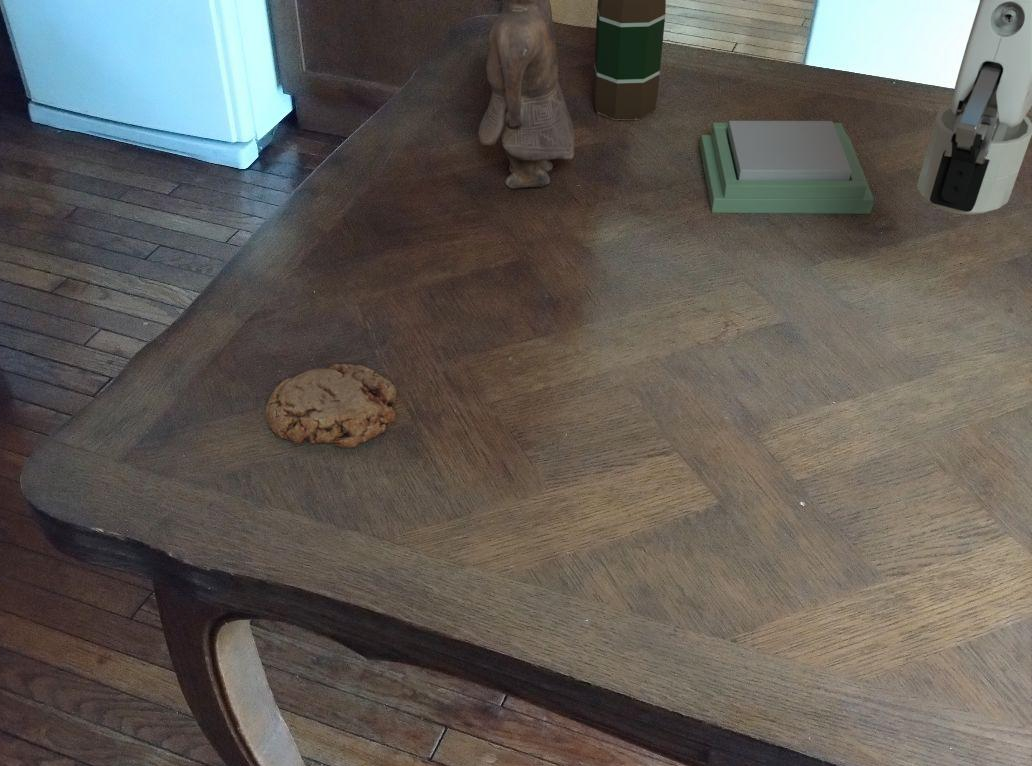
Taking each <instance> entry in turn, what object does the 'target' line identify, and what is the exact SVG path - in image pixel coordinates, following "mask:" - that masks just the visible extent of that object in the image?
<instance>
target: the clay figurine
mask: <svg viewBox="0 0 1032 766" xmlns="http://www.w3.org/2000/svg"><path fill="white" fill-rule="evenodd" d="M493 1H494V2H499V1H500V0H493ZM505 2H506V5H505V6H504V7H503V9H502V11H501V12H500V13H499V15H498V16H497V18H496V19H495V22H494V24H493V26H492V27H491V29H490V32H489V35H488V39H489V40H488V41H489V51H488V55H487V59H486V77H487V81H488V83H489V85H490V87H491V97H490V100H489V104H488V106H487V108H486V111H485V112H484V115H483V116H482V119H481V121H480V123H479V127H478V133H477V135H478V138H479V142H480V143H481V145H482V146H483V147H494V146H495V145H497V144H498V142H499V141H500V142H501V144H502V148H503V149H504V152H505V155H506V156H507V159H508V161H509V163H510V164H509V168H508V169H509V172H510V174H509V175H508V176H507V178H506V179H505V181H504V182H505V183H504V184H505V186H507V187H508V189H511V190H516V189H523V188H542V187H545V186H547V185H549V184H550V183H551V181H550V180H551V178H550V176H549V174H548V173H549V172H550V171H552V169H553V166H554V165H553V162H551V161H552V160H562V161H563V160H564V161H570V160H572V159H573V158H574V156H575V132H574V131H575V130H574V126H573V122H572V118H571V116H570V112H569V109H568V105H567V103H566V100H565V97H564V95H563V91H562V88H561V86H560V82H559V57H558V50H557V41H556V35H555V28H554V20H553V11H552V4H551V0H505Z"/></svg>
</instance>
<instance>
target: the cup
mask: <svg viewBox="0 0 1032 766" xmlns="http://www.w3.org/2000/svg"><path fill="white" fill-rule="evenodd" d="M950 107H951V104H949V105H946V106H945V107H943V108H942V109H940V110H938V112H937V114H936V117H935V120H934V124H933V128H932V131H931V133H930V134H931V135H930V137H929V140H928V145H927V148H926V152H925V156H924V159H923V163H922V166H921V170H920V173H919V176H918V181H917V184H916V188H917V190H918V191H919V194H920V195H921V196H922V197H923V198H924V199H926V201H928V202H929V204H931V205H933V206H934V207H936V208H938V209H940V210H943V211H946V212H949V213H953V214H958V215H980V214H981V215H982V214H985V213H988V212H992V211H995V210H999V209H1000V208H1002V207H1003V206H1004V205H1006V204H1008V202H1009V200H1010V198H1011V196H1012V192H1013V189H1014V186H1015V183H1016V180H1017V179H1018V178H1017V177H1018V175H1019V171H1020V169H1021V166H1022V165H1023V164H1022V163H1023V161H1024V159H1025V156H1026V152H1027V149H1028V147H1029V143H1030V142H1031V139H1032V121H1031V120H1030V118H1029V117H1028V116H1027V115H1026V116H1025V117H1024V119H1023V120H1022V122H1021V123H1020V124H1018V125H1017V126H1015V127H1012V128H1009V127H1008V124H1004V123H1000V124H999V125H998V128H997V131H996V133H995V136H994V138H993V141H992V144H991V146H990V149H989V151H988V154H987V157H986V159H988V160H990V161H989V164H988V167H987V170H986V173H985V176H984V179H983V182H982V185H981V188H980V191H979V194H978V197H977V200H976V203H975V206H974V208H973V209H972V210H971V211H970V212H965V211H961V210H957V209H953V208H949V207H945V206H941V205H937V204H933V203H932V202H931V201H930V196H931V193H932V189H933V186H934V183H935V179H936V176H937V172H938V169H939V166H940V162H941V159H942V156H943V152H944V151H945V150H946V148H947V145H948V142H949V139H950V137H951V134H952V131H953V129H954V126H955V123H956V120H957V118H958V116H955V115H954V114H953V112H952V110H951V108H950ZM996 111H997V109H996V108H991V107H988V108H987V110H986V112H985V115H989V116H993V117H994V116H995V114H996ZM987 128H988V126H986V125H982V124H981V125H980V130H979V132H978V134H982V140H983V139H984V136H985V134H986V131H987Z"/></svg>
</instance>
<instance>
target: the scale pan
mask: <svg viewBox="0 0 1032 766" xmlns="http://www.w3.org/2000/svg"><path fill="white" fill-rule="evenodd" d="M727 123H728V130H727V134H728V138H729V142H730V147H731V151H732V155H733V160H734V164H735V168H736V173H737V177H738V180H829V181H849V178H850V174H851V169H850V166H849V164H848V161H847V158H846V156H845V153H844V151H843V148H842V145H841V143H840V140H839V138H838V135H837V132H836V130H835V127H834V125H833V123H834V122H833V121H832V120H728V122H727Z"/></svg>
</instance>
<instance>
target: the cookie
mask: <svg viewBox="0 0 1032 766" xmlns="http://www.w3.org/2000/svg"><path fill="white" fill-rule="evenodd" d="M396 400H397V388H396V386H395V385H394V384H393V383H392V382H391V381H390V380H389V379H386V378H385V377H384V376H382V375H381V374H379V373H375V370H373V369H371V368H370V367H368V366H364V365H363V364H357V365H355V364H351V363H348V364H345V363H341V364H340V363H335V364H332V365H330V366H329V367H328V368H314V369H309V370H306V371H305V372H302V373H300V374H297V375H295V376H294V377H289V378H286V379H283V381H282V382H280V383H279V384H278V385H277V386H276V387H275V388H274V390H273V391H272V392H271V394H270V395H269V398H268V400H267V403H266V406H265V420H266V424H267V426H268V427H269V429H270V428H271V429H272V430H271V429H270V430H271V432H272V433H273V432H274V433H273V434H274V435H275V434H276V435H277V436H276V435H275V436H276V437H278V436H279V437H280V438H281V439H284V440H286V441H292V442H293V444H300V445H302V444H303V443H306V442H308V445H309V446H312V445H316V444H329V443H331V444H334V445H335V446H337V447H339V448H356V447H357V446H359V445H360V444H364V443H366V442H367V441H369V440H370V439H373V438H375V437H377V436H379V435H381V434H383V433H384V432H385V431H386V430H387V429H389V428H388V427H390V426H391V425H392V423H393V422H396V418H397V414H396V411H395V410H394V409H395V406H396ZM279 437H278V438H279ZM280 438H279V439H280ZM302 442H303V443H302Z"/></svg>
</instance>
